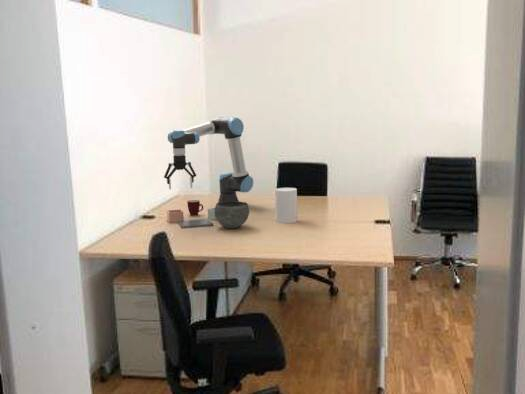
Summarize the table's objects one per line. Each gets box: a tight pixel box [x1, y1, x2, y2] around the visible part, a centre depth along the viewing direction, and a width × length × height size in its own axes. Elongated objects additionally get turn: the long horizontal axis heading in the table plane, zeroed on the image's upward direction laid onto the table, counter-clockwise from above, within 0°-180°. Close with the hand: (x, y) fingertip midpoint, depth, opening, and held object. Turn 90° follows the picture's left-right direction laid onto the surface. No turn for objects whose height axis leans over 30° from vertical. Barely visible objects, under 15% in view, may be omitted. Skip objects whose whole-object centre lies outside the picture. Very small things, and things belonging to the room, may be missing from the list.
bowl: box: [214, 201, 250, 229], centre depth 351 cm, size 21×21×15 cm
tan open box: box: [166, 208, 185, 224], centre depth 370 cm, size 9×9×7 cm
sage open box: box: [207, 207, 218, 222], centre depth 375 cm, size 8×8×7 cm
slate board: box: [176, 218, 214, 229], centre depth 363 cm, size 20×16×1 cm
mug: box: [187, 199, 204, 216], centre depth 388 cm, size 11×8×10 cm
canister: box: [274, 187, 298, 224], centre depth 365 cm, size 14×14×20 cm
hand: (180, 188), depth 368 cm, fingers open, 13 cm apart
